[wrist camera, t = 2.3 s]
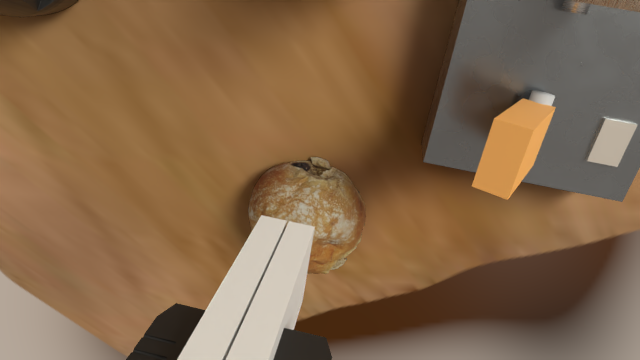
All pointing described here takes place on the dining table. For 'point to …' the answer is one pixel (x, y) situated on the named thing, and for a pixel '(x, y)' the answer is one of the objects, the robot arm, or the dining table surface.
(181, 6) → the dining table surface
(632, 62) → the panel
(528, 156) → the orange and white block
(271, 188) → the bread roll
